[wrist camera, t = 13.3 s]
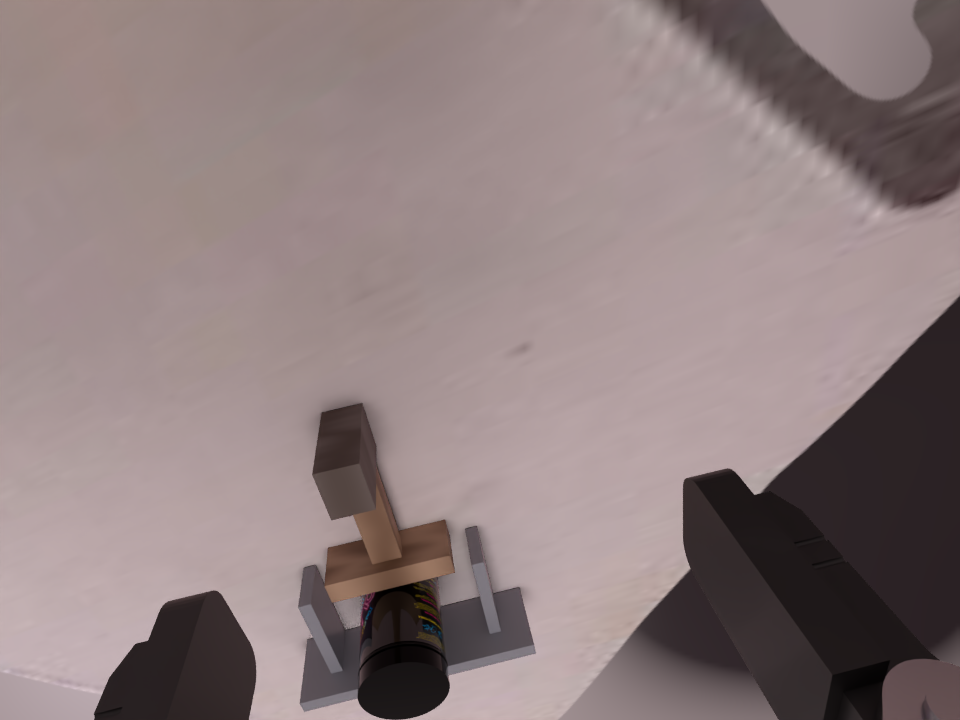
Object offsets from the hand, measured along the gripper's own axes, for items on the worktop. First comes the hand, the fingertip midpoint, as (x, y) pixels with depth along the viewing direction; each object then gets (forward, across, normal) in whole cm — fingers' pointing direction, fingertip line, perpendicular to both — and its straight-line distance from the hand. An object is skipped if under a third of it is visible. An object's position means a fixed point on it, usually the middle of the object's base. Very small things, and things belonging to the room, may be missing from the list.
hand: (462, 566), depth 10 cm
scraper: (+30, +8, +22) cm, 38 cm away
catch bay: (+30, +8, +34) cm, 46 cm away
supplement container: (+30, +8, +33) cm, 46 cm away
